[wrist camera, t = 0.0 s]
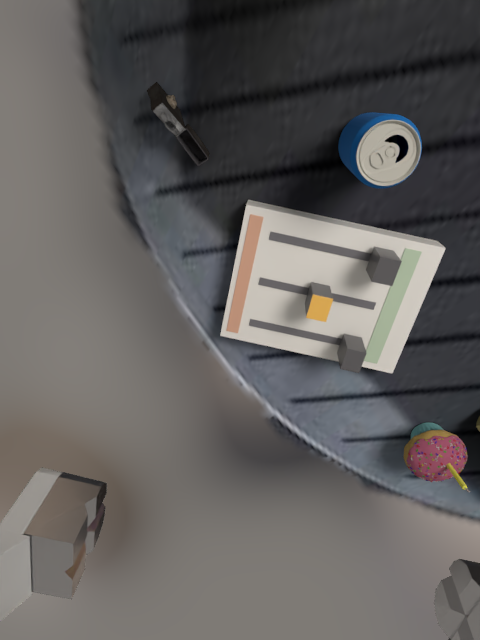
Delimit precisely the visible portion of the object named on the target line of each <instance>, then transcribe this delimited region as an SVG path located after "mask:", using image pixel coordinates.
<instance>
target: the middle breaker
mask: <svg viewBox="0 0 480 640" xmlns="http://www.w3.org/2000/svg"><path fill="white" fill-rule="evenodd" d="M332 302H333V297H332V293H331V289H330V286H328V285H323V284H319V283H314V282H311V284H310V287H309V290H308V294H307V297H306V301H305V311H306V318H309V319H314V320H318V321H323V322H326V320H327V317H328V314H329V311H330V308H331V305H332Z"/></svg>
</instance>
